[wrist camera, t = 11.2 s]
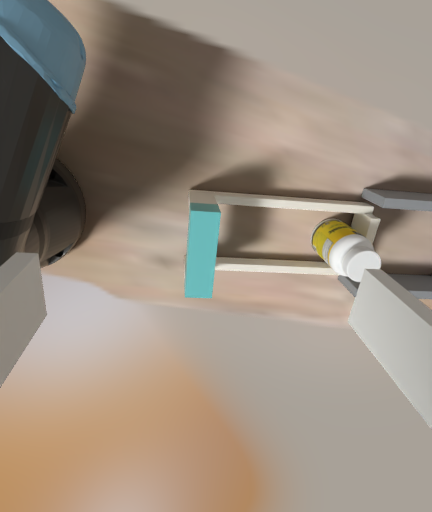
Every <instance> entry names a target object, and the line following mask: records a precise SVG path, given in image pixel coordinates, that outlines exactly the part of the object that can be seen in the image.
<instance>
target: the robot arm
mask: <svg viewBox="0 0 432 512" xmlns="http://www.w3.org/2000/svg"><path fill="white" fill-rule="evenodd" d="M85 64H86V52H85V48H84V44H83V42H82V39H81V37H80V36H79V34H78V32H77V31H76V29H75V28H74V27H73V26H72V24H71V23H70V22H69V21H68V20H67V19H66V18H65V17H64V16H63V14H62V13H61V12H59V11H58V10H57V9H56V8H55V7H54V6H53V5H52V4H51V3H50V2H49V1H48V0H0V387H1V386H2V384H3V383H4V381H5V380H6V378H7V376H8V375H9V373H10V372H11V370H12V369H13V367H14V365H15V364H16V362H17V361H18V359H19V357H20V356H21V355H22V353H23V351H24V350H25V348H26V347H27V345H28V343H29V342H30V340H31V339H32V337H33V336H34V334H35V333H36V331H37V329H38V328H39V326H40V325H41V323H42V322H43V320H44V319H45V317H46V315H47V313H46V305H45V299H44V291H43V284H42V276H41V269H40V268H42V267H45V266H48V265H50V264H53V263H55V262H56V261H58V260H60V259H61V258H62V257H64V256H65V255H66V254H67V253H68V252H69V251H70V250H71V249H72V247H73V246H74V245H75V244H76V242H77V241H78V239H79V238H80V236H81V234H82V232H83V229H84V225H85V219H86V209H85V202H84V198H83V195H82V192H81V190H80V187H79V186H78V184H77V182H76V180H75V179H74V177H73V176H72V174H71V173H70V172H69V171H68V169H67V168H66V167H65V166H64V165H63V164H62V163H61V162H60V161H58V160H57V159H56V156H57V153H58V150H59V147H60V145H61V142H62V139H63V136H64V133H65V130H66V127H67V124H68V122H69V119H70V116H71V113H73V114H74V113H75V111H76V104H75V99H76V96H77V92H78V89H79V86H80V82H81V79H82V75H83V72H84V69H85ZM348 323H349V324H350V326H351V327H352V328H353V329H354V331H355V332H356V333H357V335H358V336H359V337H360V338H361V340H362V341H363V342H364V343H365V345H366V346H367V347H368V349H369V350H370V351H371V352H372V354H373V355H374V356H375V358H376V359H377V360H378V361H379V363H380V364H381V365H382V366H383V368H384V369H385V370H386V371H387V373H388V374H389V375H390V377H391V378H392V379H393V381H394V382H395V383H396V384H397V386H398V387H399V388H400V389H401V391H402V392H403V393H404V395H405V396H406V397H407V398H408V400H409V401H410V402H411V404H412V405H413V406H414V407H415V409H416V410H417V411H418V413H419V414H420V415H421V416H422V418H423V419H424V420H425V421H426V423H427V424H428V425H429V426H430V428H431V429H432V310H431V309H430V308H428V307H427V306H426V305H425V304H423V303H422V302H421V301H420V300H419V299H417V298H416V297H415V296H414V295H412V294H411V293H410V292H409V291H407V290H406V289H405V288H404V287H402V286H401V285H400V284H399V283H397V282H396V281H395V280H394V279H392V278H391V277H390V276H389V275H388V274H386V273H385V272H384V271H383V270H381V269H364V272H363V276H362V279H361V282H360V285H359V288H358V291H357V294H356V297H355V300H354V303H353V306H352V310H351V313H350V316H349V319H348Z"/></svg>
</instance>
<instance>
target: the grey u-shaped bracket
mask: <svg viewBox="0 0 432 512" xmlns="http://www.w3.org/2000/svg"><path fill="white" fill-rule="evenodd" d="M361 197H362V198H364V199H366V200H368V201H370V202H372V203H374V204H376V205H378V206H380V207H382V208H392V209H406V210H420V211H432V194H429V193H416V192H404V191H391V190H379V189H366V188H364V189H363V193H362V196H361ZM388 275H389V276H390V277H391V278H392V279H394V280H395V281H396V282H397V283H399V284H400V285H401V286H402V287H404V288H405V289H406V290H407V291H409V292H410V293H411V294H412V295H414V296H415V297H416V298H417V299H432V275H431V276H430V275H406V274H388ZM338 280H339V281H340V282H341V283H342V284H343V285H344V286H345V287H346V288H347V289H348V290H349V292H350V293H351V294H352V295H353V296H354V297H356V294H357V291H358V288H359V285H360V282H356V281H353V280H352V279H350V278H349V277H348V276H342V275H339V276H338Z"/></svg>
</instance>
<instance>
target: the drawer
mask: <svg viewBox="0 0 432 512" xmlns="http://www.w3.org/2000/svg"><path fill="white" fill-rule="evenodd" d="M188 202H189V224H188V240H187V255H186V256H185V255H184V281H185V297H191V298H212V290H213V281H214V272H215V270H226V271H251V272H275V273H300V274H324V275H339V274H338V273H336V272H335V271H334V270H333V269H332V268H331V267H330V266H329V265H328V264H327V263H326V262H314V261H293V260H271V259H250V258H228V257H216V253H217V244H218V235H219V225H220V216H221V212H220V209H219V207H218V204H229V205H244V206H259V207H273V208H288V209H302V210H317V211H331V212H346V213H354V217H353V220H352V224H351V228H353V229H354V230H356V231H357V232H359V233H360V234H361V235H363V236H365V237H366V238H367V239H368V240H369V241H370V242H371V243H372V245H373V241H374V238H375V235H376V232H377V229H378V226H379V223H380V220H381V219H379V218H378V217H376V216H374V215H372V212H373V209H374V206H372V205H370V204H368V203H365V202H351V201H338V200H324V199H311V198H297V197H283V196H270V195H256V194H243V193H229V192H215V191H202V190H188Z"/></svg>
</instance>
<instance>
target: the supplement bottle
mask: <svg viewBox="0 0 432 512" xmlns="http://www.w3.org/2000/svg"><path fill="white" fill-rule="evenodd" d="M311 245H312V247H313V249H314V250H315V251H316V252H317V253H318V255H319V256H320V257H321V258H322V259H323V260H324V261H325V262H326V263H327V264H328V265H329V266H330V267H331V268H332V269H333V270H334V271H335V272H336V273H338V274H339V275H342V276H348V277H349V278H350V279H352V280H353V281H356V282H361V279H362V276H363V272H364V269H380V267H381V258H380V256H379V255H378V254H377V253H376V252H375V251H374V248H373V245H372V243H371V242H370V241H369V240H368V239H367V238H366V237H365V236H363V235H361V234H360V233H359V232H357V231H356V230H354V229H353V228H351V227H350V226H348V225H347V224H346V223H344V222H342V221H341V220H338V219H327V220H324V221H322V222H320V223H319V224H318V225H317V226H316V227H315V228H314V230H313V232H312V234H311Z"/></svg>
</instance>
